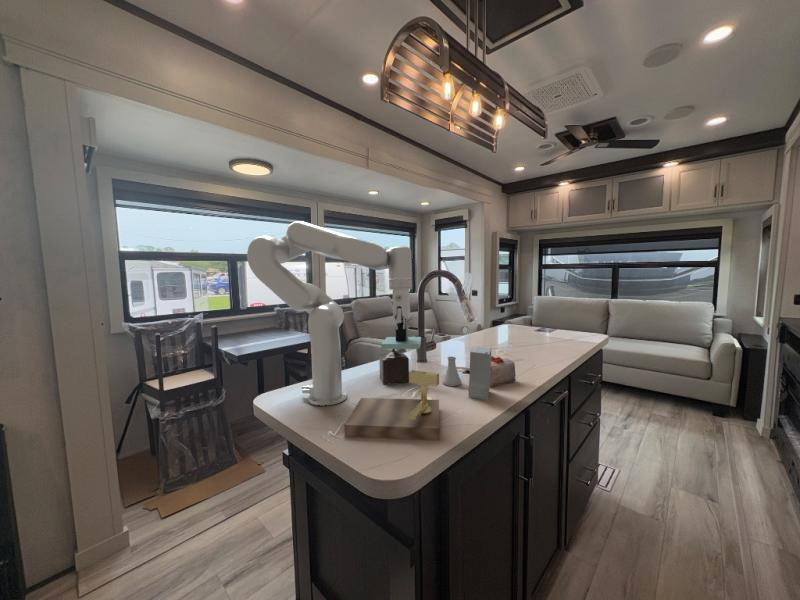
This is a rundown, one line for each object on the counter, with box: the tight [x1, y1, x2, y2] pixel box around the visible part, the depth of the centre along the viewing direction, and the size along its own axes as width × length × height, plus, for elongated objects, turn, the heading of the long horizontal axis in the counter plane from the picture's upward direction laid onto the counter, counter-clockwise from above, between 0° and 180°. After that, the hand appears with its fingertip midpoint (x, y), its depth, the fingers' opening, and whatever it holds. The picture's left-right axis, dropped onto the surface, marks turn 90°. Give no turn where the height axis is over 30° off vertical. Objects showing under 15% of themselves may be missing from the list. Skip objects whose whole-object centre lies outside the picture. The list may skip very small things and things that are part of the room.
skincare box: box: [468, 345, 492, 400], centre depth 105 cm, size 8×7×16 cm
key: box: [408, 369, 440, 420], centre depth 82 cm, size 11×8×11 cm
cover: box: [380, 324, 422, 350], centre depth 103 cm, size 12×12×6 cm
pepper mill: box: [379, 334, 421, 385], centre depth 123 cm, size 16×11×18 cm
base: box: [343, 397, 440, 441], centre depth 87 cm, size 24×18×3 cm
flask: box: [441, 356, 462, 387], centre depth 117 cm, size 7×7×10 cm
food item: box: [490, 355, 517, 388], centre depth 117 cm, size 14×8×10 cm, turn 117°
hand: (401, 339), depth 103 cm, fingers closed on cover, 3 cm apart
